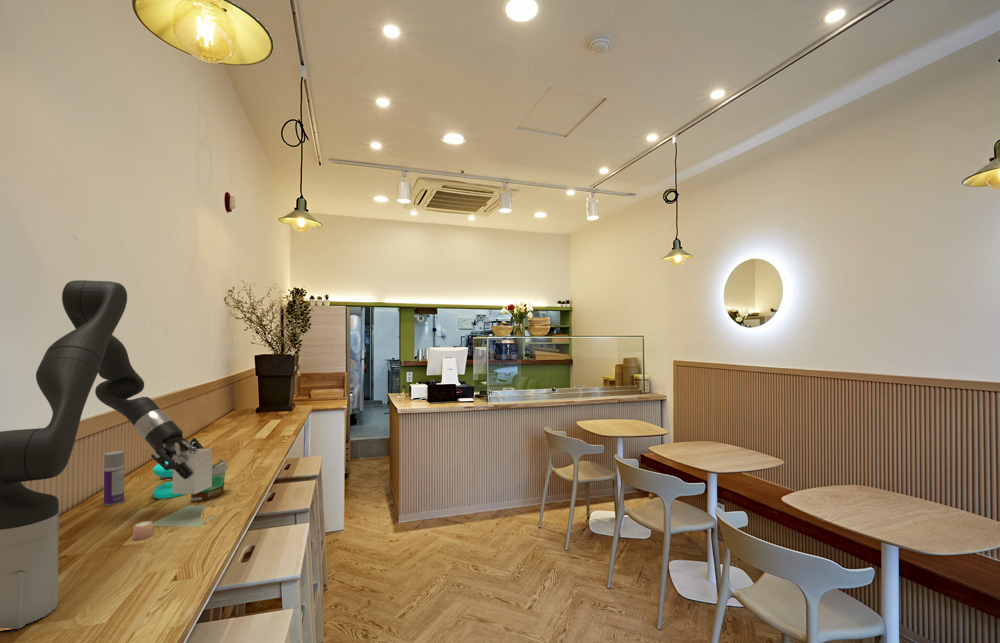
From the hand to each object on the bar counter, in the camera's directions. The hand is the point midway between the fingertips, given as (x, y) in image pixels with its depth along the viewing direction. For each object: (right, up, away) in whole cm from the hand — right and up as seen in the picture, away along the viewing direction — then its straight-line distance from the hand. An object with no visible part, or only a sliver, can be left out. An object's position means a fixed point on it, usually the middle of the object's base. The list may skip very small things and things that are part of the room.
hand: (198, 472), depth 125 cm
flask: (-31, -14, +33) cm, 47 cm away
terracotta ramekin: (-5, -12, -13) cm, 18 cm away
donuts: (-20, -13, +18) cm, 30 cm away
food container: (-5, -13, +15) cm, 20 cm away
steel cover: (-2, -5, 0) cm, 5 cm away
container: (-33, -13, +11) cm, 37 cm away
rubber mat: (-1, -12, 0) cm, 12 cm away
